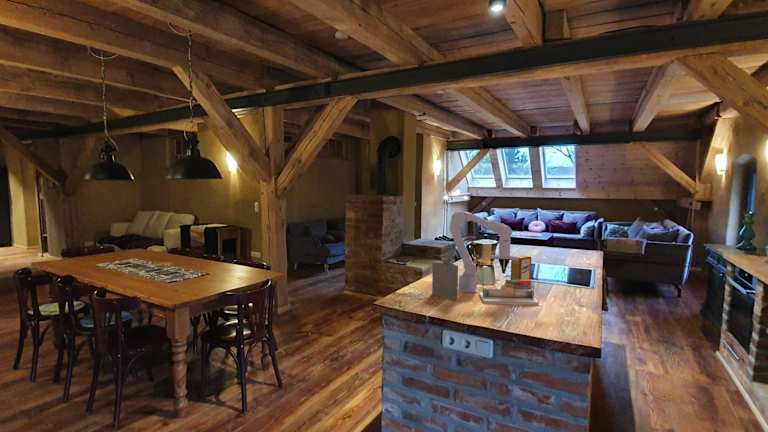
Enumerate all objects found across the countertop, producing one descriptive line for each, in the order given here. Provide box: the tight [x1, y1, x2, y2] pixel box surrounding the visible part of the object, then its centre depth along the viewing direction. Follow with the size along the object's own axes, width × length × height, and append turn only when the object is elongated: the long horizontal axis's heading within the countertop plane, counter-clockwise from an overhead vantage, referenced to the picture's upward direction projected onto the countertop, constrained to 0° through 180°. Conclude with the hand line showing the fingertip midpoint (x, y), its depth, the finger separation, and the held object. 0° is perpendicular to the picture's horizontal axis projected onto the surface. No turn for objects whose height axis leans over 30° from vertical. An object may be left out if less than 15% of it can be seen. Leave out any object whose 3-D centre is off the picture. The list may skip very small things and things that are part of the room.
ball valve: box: [482, 282, 535, 299], centre depth 193 cm, size 24×6×7 cm, turn 85°
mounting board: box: [478, 291, 540, 306], centre depth 193 cm, size 26×14×2 cm, turn 85°
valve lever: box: [505, 279, 532, 285], centre depth 192 cm, size 12×3×2 cm, turn 87°
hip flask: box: [431, 257, 459, 302], centre depth 197 cm, size 16×4×20 cm, turn 40°
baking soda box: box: [510, 254, 532, 286], centre depth 226 cm, size 10×6×16 cm
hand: (503, 273), depth 207 cm, fingers closed
